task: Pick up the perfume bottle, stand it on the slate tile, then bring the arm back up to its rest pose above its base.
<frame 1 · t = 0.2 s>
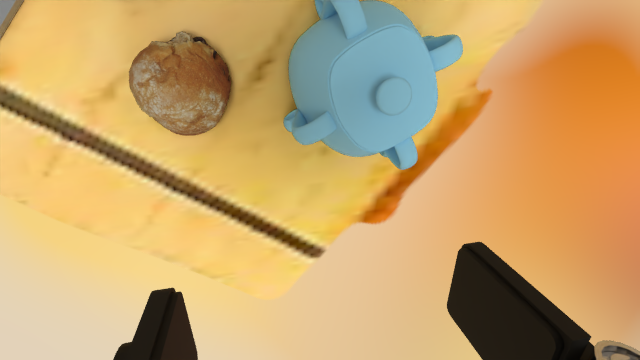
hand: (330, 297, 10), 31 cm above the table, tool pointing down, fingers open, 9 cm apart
decorative pot: (348, 79, 39), on the table
bread roll: (187, 82, 35), on the table
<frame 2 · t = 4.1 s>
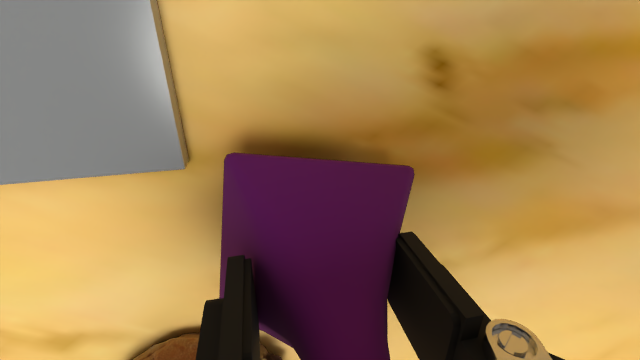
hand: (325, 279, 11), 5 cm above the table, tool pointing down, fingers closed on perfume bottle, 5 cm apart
perfume bottle: (301, 204, 16), on the table, touching gripper
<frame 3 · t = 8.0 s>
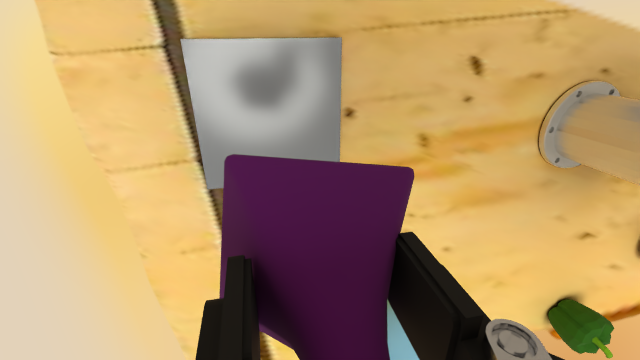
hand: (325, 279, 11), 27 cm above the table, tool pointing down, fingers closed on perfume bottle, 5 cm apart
decorative pot: (395, 318, 54), on the table
bell pepper: (557, 308, 64), on the table
perfume bottle: (301, 205, 16), point 21 cm above the table, touching gripper
slate tile: (270, 115, 35), on the table
when the fingers open (7 cm above the table, at t = 12.2 s): perfume bottle stays where it is, resting on slate tile.
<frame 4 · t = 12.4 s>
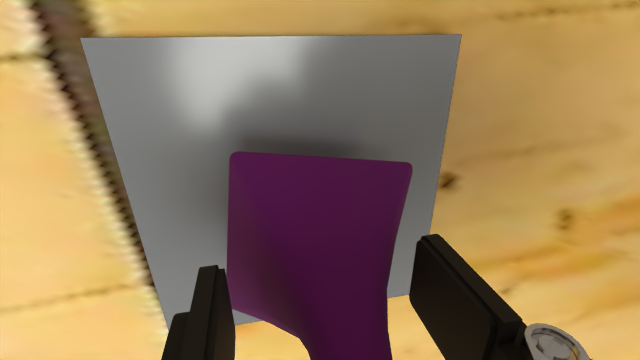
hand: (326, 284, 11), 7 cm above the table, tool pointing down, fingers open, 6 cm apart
perfume bottle: (303, 201, 17), point 1 cm above the table, touching slate tile
slate tile: (297, 194, 17), on the table
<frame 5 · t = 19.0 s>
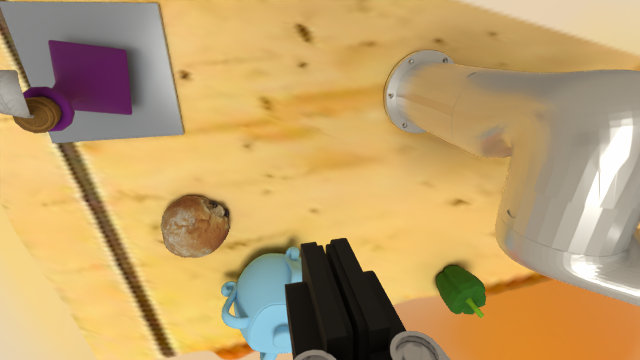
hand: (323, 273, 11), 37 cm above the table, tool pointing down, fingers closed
decorative pot: (276, 278, 58), on the table
bell pepper: (446, 275, 68), on the table
perfume bottle: (105, 76, 38), point 1 cm above the table, touching slate tile
bread roll: (198, 219, 50), on the table
slate tile: (105, 75, 39), on the table
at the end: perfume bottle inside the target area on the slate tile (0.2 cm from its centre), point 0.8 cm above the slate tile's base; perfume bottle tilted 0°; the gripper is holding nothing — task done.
